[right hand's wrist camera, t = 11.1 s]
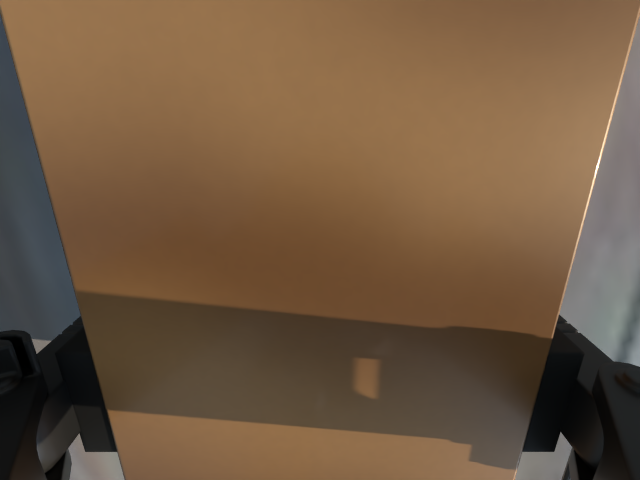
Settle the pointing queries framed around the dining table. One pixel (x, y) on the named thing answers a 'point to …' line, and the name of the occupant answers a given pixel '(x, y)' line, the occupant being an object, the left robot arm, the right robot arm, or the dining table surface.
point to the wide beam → (319, 220)
